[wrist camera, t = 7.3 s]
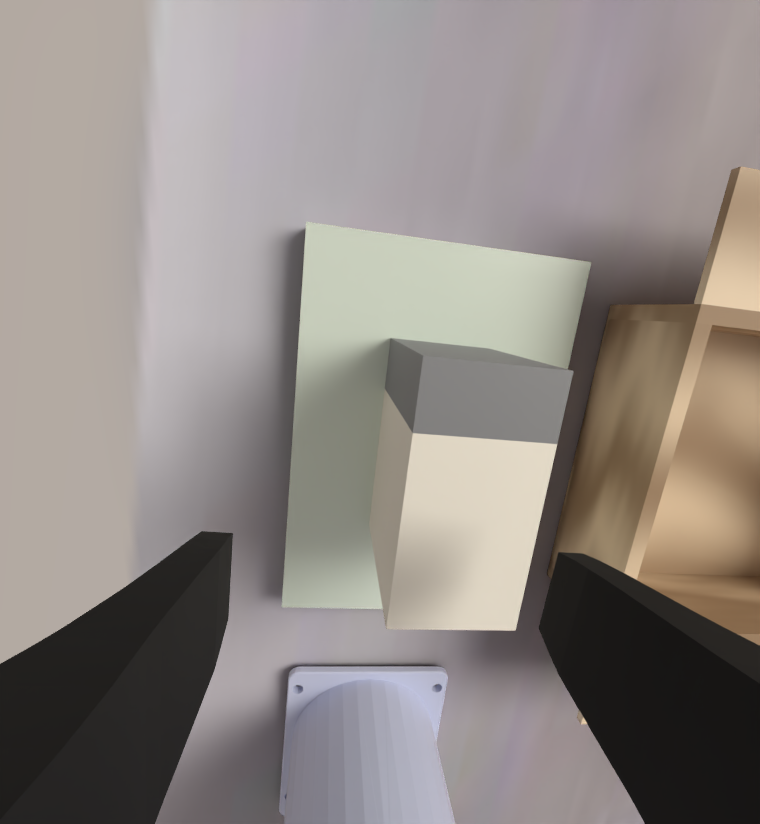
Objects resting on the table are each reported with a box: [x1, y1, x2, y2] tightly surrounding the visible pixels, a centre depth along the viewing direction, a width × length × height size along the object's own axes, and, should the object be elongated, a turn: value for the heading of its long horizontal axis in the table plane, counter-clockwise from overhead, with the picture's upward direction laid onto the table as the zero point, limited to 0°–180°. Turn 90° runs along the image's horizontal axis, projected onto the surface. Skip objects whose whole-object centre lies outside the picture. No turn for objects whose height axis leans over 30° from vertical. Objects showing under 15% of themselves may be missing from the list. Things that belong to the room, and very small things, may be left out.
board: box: [282, 222, 591, 609], centre depth 18 cm, size 16×11×1 cm
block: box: [369, 338, 574, 631], centre depth 14 cm, size 8×4×6 cm, turn 174°
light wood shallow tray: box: [547, 167, 760, 724], centre depth 18 cm, size 21×13×4 cm, turn 174°
